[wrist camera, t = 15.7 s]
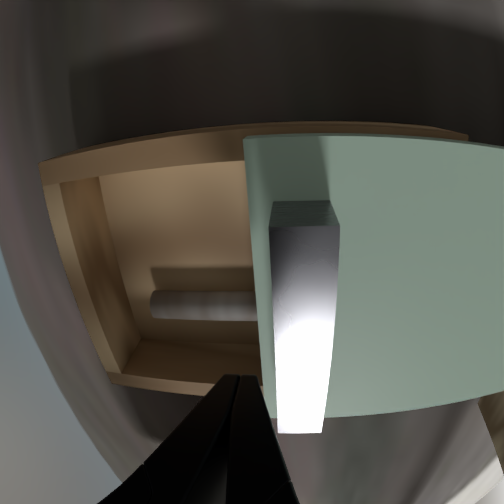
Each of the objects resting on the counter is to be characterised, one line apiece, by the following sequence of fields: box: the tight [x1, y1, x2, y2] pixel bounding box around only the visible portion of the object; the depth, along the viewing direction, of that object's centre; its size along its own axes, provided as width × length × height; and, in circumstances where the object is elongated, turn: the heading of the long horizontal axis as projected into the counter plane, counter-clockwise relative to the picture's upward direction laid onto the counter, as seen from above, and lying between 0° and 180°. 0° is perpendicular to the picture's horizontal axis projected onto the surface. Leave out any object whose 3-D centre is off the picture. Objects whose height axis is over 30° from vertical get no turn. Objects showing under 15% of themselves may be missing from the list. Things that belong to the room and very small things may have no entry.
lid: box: [243, 133, 504, 433], centre depth 9 cm, size 12×16×3 cm
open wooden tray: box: [38, 121, 469, 396], centre depth 14 cm, size 12×16×4 cm
